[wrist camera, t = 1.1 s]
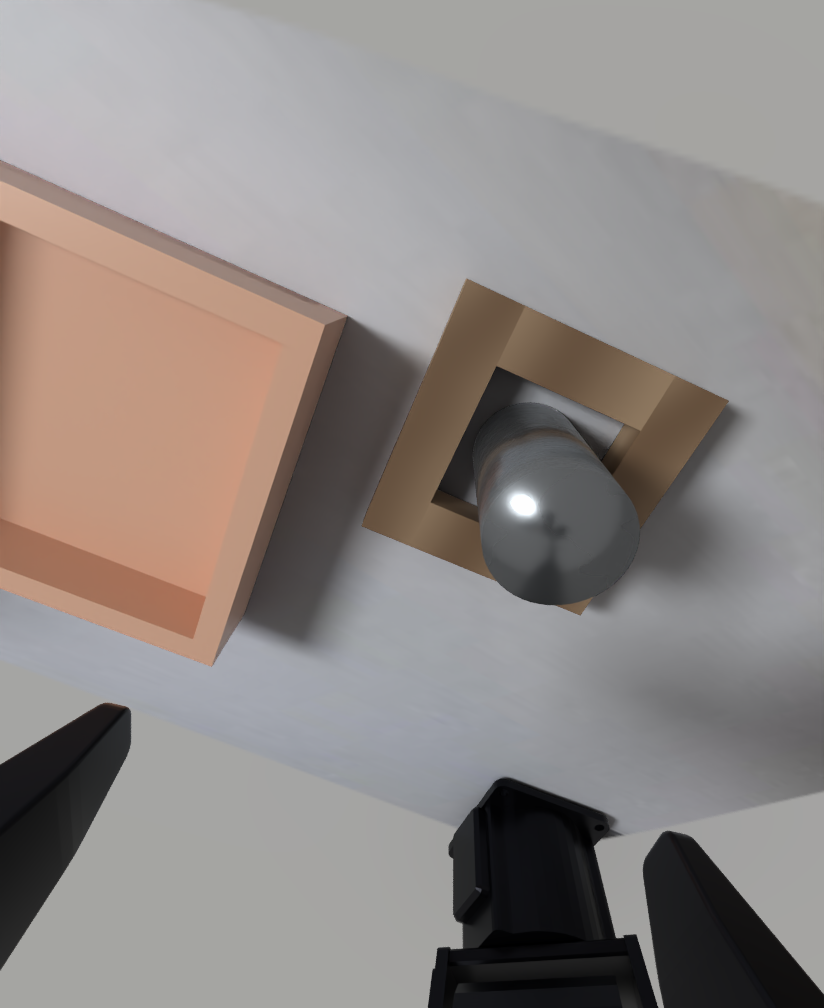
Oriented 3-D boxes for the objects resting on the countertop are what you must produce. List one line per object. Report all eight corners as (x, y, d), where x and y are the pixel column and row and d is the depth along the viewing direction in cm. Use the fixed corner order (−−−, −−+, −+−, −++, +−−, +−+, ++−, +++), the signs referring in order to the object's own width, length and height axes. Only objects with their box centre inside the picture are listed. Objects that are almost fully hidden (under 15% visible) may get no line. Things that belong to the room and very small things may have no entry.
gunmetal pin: (599, 428, 19) (672, 506, 13) (546, 517, 21) (587, 625, 14) (502, 384, 19) (526, 441, 12) (455, 478, 20) (456, 572, 14)
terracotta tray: (347, 315, 18) (324, 324, 15) (244, 614, 24) (211, 666, 21) (-54, 136, 17) (-171, 104, 14) (-64, 496, 23) (-149, 533, 19)
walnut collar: (708, 391, 18) (729, 400, 17) (572, 594, 22) (580, 615, 21) (466, 278, 18) (467, 278, 16) (367, 509, 21) (361, 526, 20)
